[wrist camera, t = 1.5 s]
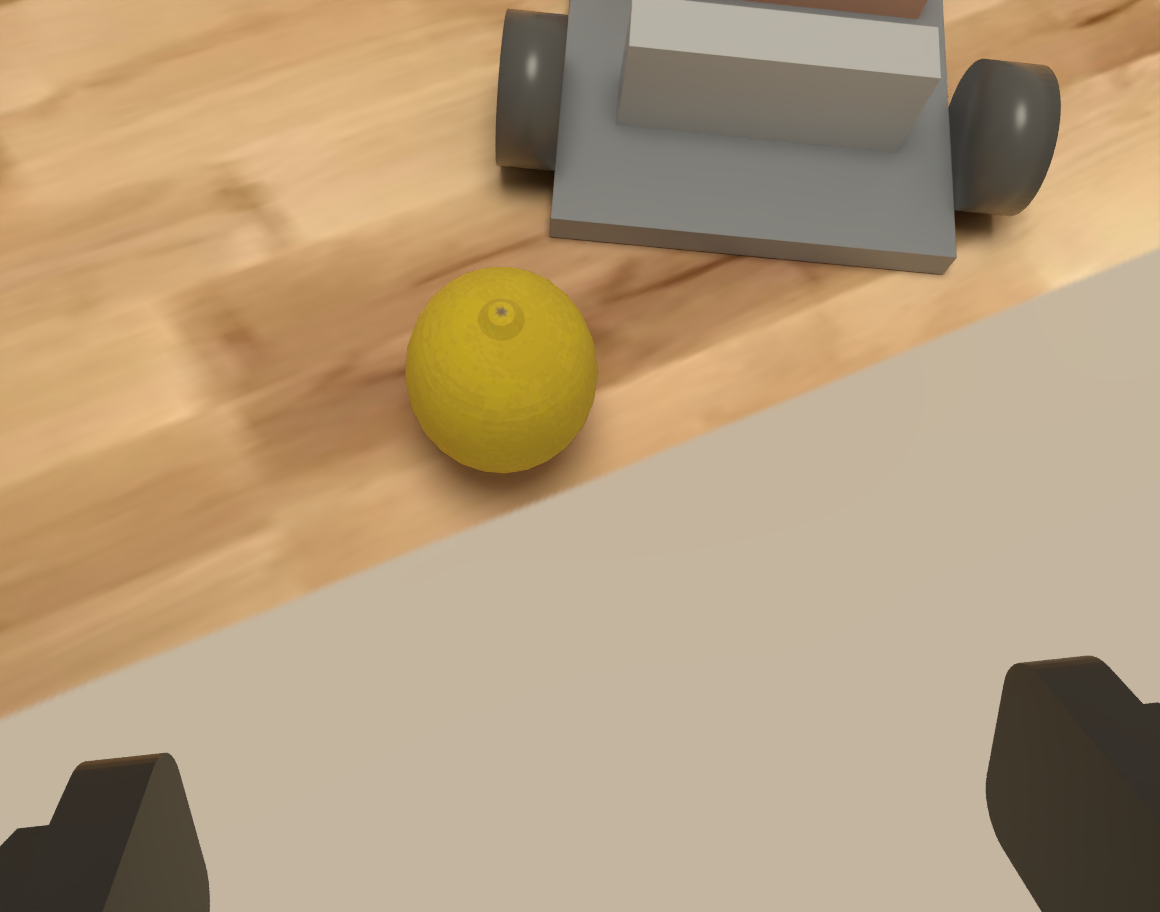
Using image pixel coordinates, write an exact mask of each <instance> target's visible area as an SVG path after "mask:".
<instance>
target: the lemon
mask: <svg viewBox="0 0 1160 912" xmlns="http://www.w3.org/2000/svg"><path fill="white" fill-rule="evenodd" d="M597 374H598V371H597V362H596V354H595V347H594V342H593V339H592V337H591V334H590V332H589V329H588V327H587V325H586V322H585V320H584V318H583V316H582V314H581V312H580V311H579V310H578V308H577V307H576V306H575V304H574V303H573V302H572V300H571V299H570V298H569V297H568V295H567V294H565V293H564V292H563V291H562V290H560V289H559V288H558V287H557V286H555V285H554V284H553V283H552V282H550V281H549V280H548V279H545V278H543V277H541V276H539V275H537V274H534V273H532V272H530V271H526V270H521V269H516V268H512V267H488V268H484V269H480V270H476V271H472V272H468V273H466V274H464V275H462V276H460V277H458V278H457V279H455V280H453V281H451V282H449V283H448V284H447V285H446V286H445V287H444V288H442V289H441V290H440V291H439V292H438V293H437V294H435V295H434V296H433V297H432V298H431V299H430V301H429V302H428V304H427V305H426V307H425V308H424V310H423V311H422V313H421V314H420V316H419V317H418V319H417V321H416V324H415V327H414V329H413V332H412V335H411V338H410V341H409V344H408V348H407V357H406V372H405V380H406V386H407V390H408V395H409V400H410V404H411V407H412V410H413V412H414V414H415V415H416V417H417V419H418V421H419V423H420V425H421V427H422V429H423V431H424V432H425V433H426V435H427V436H428V437H429V438H430V439H431V440H432V441H433V442H434V443H435V444H436V446H437V447H438V448H439V449H440V450H441V451H442V452H444V453H445V454H447V455H448V456H450V457H451V458H453V459H454V460H456V461H458V462H459V463H461V464H463V465H466V466H469V467H472V468H475V469H478V470H481V471H484V472H495V473H511V472H517V471H524V470H528V469H530V468H533V467H535V466H537V465H540V464H542V463H544V462H547V461H549V460H550V459H551V458H553V457H554V456H555V455H557V454H558V453H559V452H561V451H562V450H563V449H565V448H566V447H567V446H568V445H569V443H570V442H571V441H572V440H573V438H574V437H575V436H576V435H577V433H578V432H579V431H580V430H581V428H582V427H583V425H584V423H585V421H586V418H587V416H588V414H589V411H590V409H591V407H592V404H593V401H594V396H595V389H596V382H597Z"/></svg>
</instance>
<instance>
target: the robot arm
mask: <svg viewBox="0 0 1160 912" xmlns="http://www.w3.org/2000/svg"><path fill="white" fill-rule="evenodd" d="M986 799H987V806H988V810H989V816H990V819H991V822H992V825H993V829H994V831H995V834H996V836H997V838H998V841H999V843H1000V844H1001V846H1002V848H1003V850H1004V851H1005V853H1006V855H1007V856H1008V858H1009V859H1010V861H1011V863H1012V864H1013V866H1014V867H1015V869H1016V871H1017V872H1018V874H1019V876H1020V877H1021V879H1022V880H1023V882H1024V884H1025V885H1026V887H1027V889H1028V890H1029V892H1030V893H1031V895H1032V897H1033V898H1034V900H1035V902H1036V903H1037V905H1038V906H1039V908H1040V910H1041V911H1042V912H1160V703H1149V704H1143V703H1142V702H1141V701H1140V700H1139V699H1138V698H1137V697H1136V696H1135V695H1134V694H1133V693H1132V691H1131V690H1130V689H1129V688H1128V687H1127V686H1126V685H1125V684H1124V683H1123V682H1122V681H1121V679H1120V678H1119V677H1118V676H1117V675H1116V674H1115V673H1114V672H1113V671H1112V670H1111V669H1110V667H1108V666H1107V665H1106V664H1105V663H1104V662H1103V661H1102V660H1100V659H1099V658H1096V657H1093V656H1080V657H1072V658H1071V657H1070V658H1062V659H1052V660H1043V661H1034V662H1024V663H1018V664H1014V665H1013V666H1012V667H1011V668H1010V669H1009V670H1008V672H1007V674H1006V677H1005V681H1004V685H1003V691H1002V696H1001V701H1000V707H999V712H998V718H997V723H996V729H995V734H994V740H993V745H992V750H991V756H990V761H989V766H988V772H987V778H986ZM0 912H210V895H209V881H208V875H207V870H206V865H205V862H204V858H203V855H202V851H201V847H200V844H199V840H198V837H197V833H196V830H195V826H194V823H193V819H192V815H191V812H190V808H189V805H188V801H187V797H186V794H185V790H184V787H183V783H182V780H181V776H180V773H179V769H178V766H177V764H176V762H175V760H174V758H173V757H172V756H171V755H170V754H168V753H159V754H150V755H141V756H132V757H122V758H113V759H104V760H95V761H85V762H83V763H81V764H79V765H78V766H77V767H76V769H75V770H74V771H73V773H72V775H71V777H70V779H69V782H68V784H67V786H66V788H65V791H64V793H63V795H62V797H61V799H60V802H59V804H58V806H57V808H56V810H55V813H54V815H53V817H52V819H51V821H50V824H49V825H46V826H36V827H27V828H19V829H17V830H16V831H15V832H14V833H13V834H12V835H11V836H10V837H9V838H8V839H7V840H6V841H5V842H4V843H3V844H2V845H1V846H0Z"/></svg>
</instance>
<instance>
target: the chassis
mask: <svg viewBox="0 0 1160 912" xmlns="http://www.w3.org/2000/svg"><path fill="white" fill-rule="evenodd" d="M567 28H568V32H567ZM566 41H567V43H566ZM565 53H566V54H565ZM1060 111H1061V101H1060V90H1059V85H1058V81H1057V78H1056V76H1055V74H1054V72H1053V71H1052V70H1051V69H1050V68H1049V67H1048V66H1045V65H1038V64H1028V63H1019V62H1009V61H1000V60H990V59H980V60H978V61H976V62H975V63H973V64H972V65H971V66H970V67H969V69H968V70H967V71H966V72H965V74H964V75H963V77H962V79H961V80H960V82H959V84H958V86H957V88H956V90H955V93H954V95H953V97H952V100H951V103H950V105H949V108H948V90H947V72H946V54H945V35H944V17H943V0H570V9H569V20H568V15H562V14H553V13H543V12H534V11H524V10H515V9H507V11H506V15H505V21H504V28H503V36H502V45H501V55H500V67H499V80H498V95H497V113H496V164H497V165H499V166H509V167H519V168H529V169H540V170H550V171H555V177H554V188H553V200H552V211H551V223H550V236H549V237H558V238H568V239H579V240H589V241H600V242H610V243H621V244H631V245H641V246H652V247H662V248H673V249H683V250H693V251H704V252H714V253H725V254H735V255H746V256H756V257H766V258H777V259H787V260H798V261H808V262H818V263H829V264H839V265H850V266H860V267H871V268H881V269H891V270H902V271H912V272H923V273H933V274H943V273H944V272H945V271H946V270H947V269H948V267H949V266H950V265H951V264H952V263H953V261H954V260H955V259H956V258H957V256H956V237H955V219H954V210H955V211H965V212H975V213H985V214H995V215H1006V216H1013V215H1016V214H1018V213H1020V212H1021V211H1022V210H1024V209H1025V208H1026V207H1027V206H1028V205H1029V203H1030V202H1031V201H1032V200H1033V198H1034V197H1035V195H1036V194H1037V192H1038V190H1039V188H1040V187H1041V185H1042V183H1043V181H1044V178H1045V176H1046V174H1047V171H1048V169H1049V166H1050V163H1051V160H1052V157H1053V154H1054V150H1055V146H1056V142H1057V137H1058V131H1059V124H1060Z"/></svg>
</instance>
